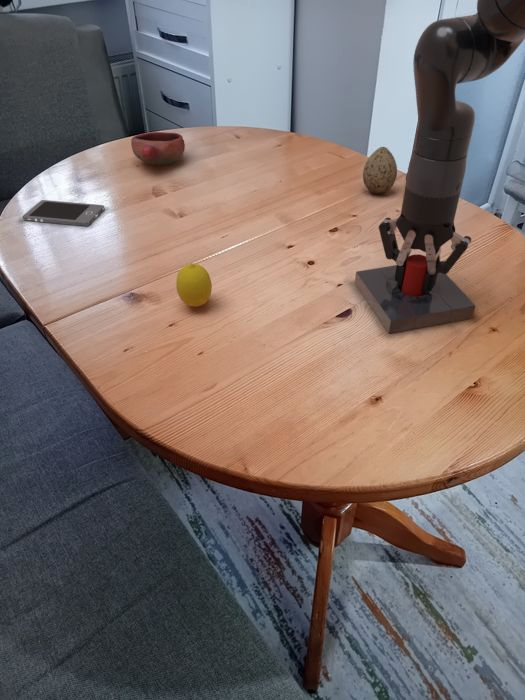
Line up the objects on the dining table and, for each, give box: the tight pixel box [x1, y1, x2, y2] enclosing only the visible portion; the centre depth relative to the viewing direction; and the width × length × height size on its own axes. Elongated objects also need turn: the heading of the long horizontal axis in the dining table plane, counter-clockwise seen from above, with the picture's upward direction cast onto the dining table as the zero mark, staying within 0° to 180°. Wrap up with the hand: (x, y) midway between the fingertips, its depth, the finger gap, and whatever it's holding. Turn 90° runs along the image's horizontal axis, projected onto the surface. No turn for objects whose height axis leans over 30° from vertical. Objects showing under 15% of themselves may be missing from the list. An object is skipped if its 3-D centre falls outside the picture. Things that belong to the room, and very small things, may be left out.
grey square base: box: [354, 264, 477, 335], centre depth 87 cm, size 14×14×2 cm
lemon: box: [175, 263, 213, 308], centre depth 85 cm, size 6×6×8 cm
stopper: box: [401, 253, 428, 296], centre depth 85 cm, size 4×4×6 cm
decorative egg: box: [362, 146, 398, 195], centre depth 115 cm, size 7×7×10 cm
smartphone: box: [21, 199, 105, 227], centre depth 113 cm, size 15×8×1 cm, turn 77°
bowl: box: [130, 131, 186, 166], centre depth 129 cm, size 16×13×8 cm
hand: (413, 286), depth 86 cm, fingers closed on stopper, 3 cm apart
